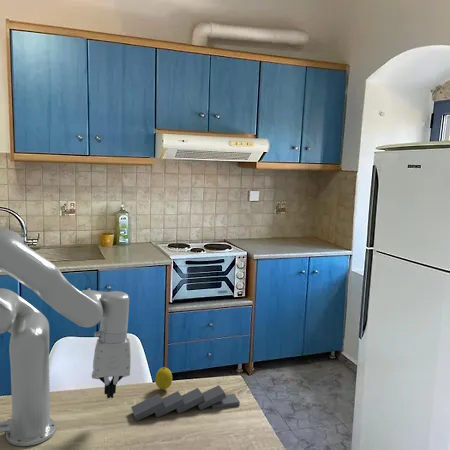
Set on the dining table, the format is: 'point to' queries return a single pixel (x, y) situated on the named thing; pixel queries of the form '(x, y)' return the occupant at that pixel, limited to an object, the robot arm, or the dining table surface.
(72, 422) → the dining table surface
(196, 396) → the domino
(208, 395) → the domino
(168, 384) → the lemon
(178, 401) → the domino
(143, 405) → the domino
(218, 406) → the domino
